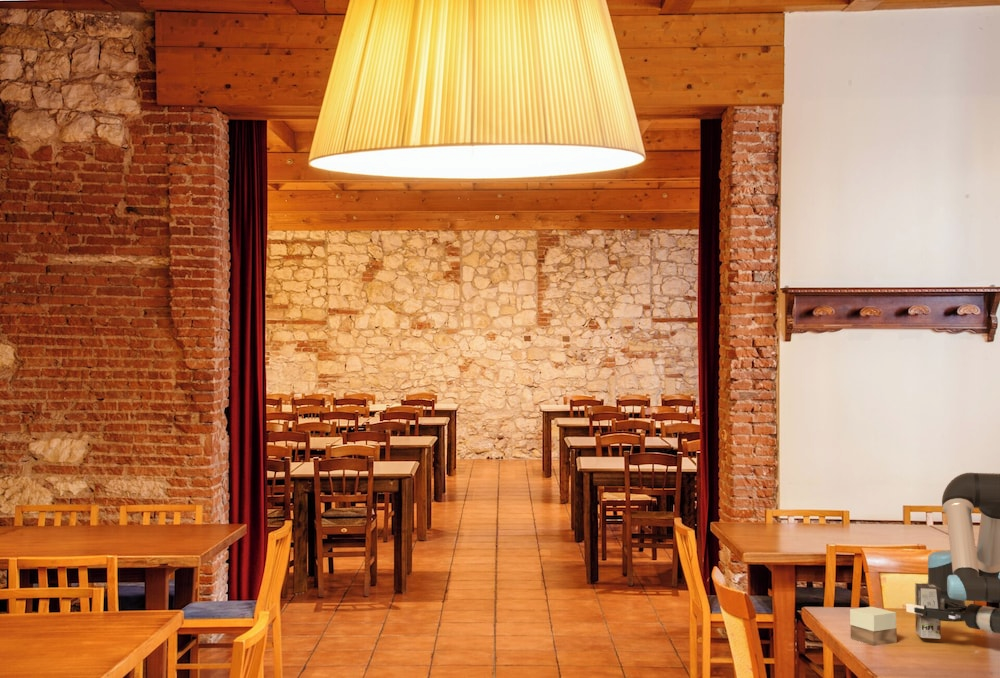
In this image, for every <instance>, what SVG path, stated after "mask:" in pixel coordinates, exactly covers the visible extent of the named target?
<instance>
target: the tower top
mask: <svg viewBox="0 0 1000 678" xmlns="http://www.w3.org/2000/svg"><path fill="white" fill-rule="evenodd" d="M849 625H850V626H851V625H853V626H856V627H860V628H864V629H867V630H871V631H880V630H887V629H894V628H897V612H895V611H891V610H887V609H883V608H880V607H875V606H866V607H859V608H851V609H849Z"/></svg>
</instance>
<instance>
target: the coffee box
mask: <svg viewBox="0 0 1000 678" xmlns="http://www.w3.org/2000/svg"><path fill="white" fill-rule="evenodd" d="M914 589H915V590H914V595H915V597H914V600H915V602H914V603H915V604H914V605H920V606H924V605H926V608H935V609H941V589H940V588H939V587H938V586H936V585H935V584H928V583H923V582H922V583H917V582H916V583H914ZM941 622H942V620H941V619H934V618H925V617H923V615H920V614H915V632H916V634H918V636H919V637H920V638H922V639H939V640H940V639H941V630H942V629H941Z"/></svg>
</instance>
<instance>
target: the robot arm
mask: <svg viewBox="0 0 1000 678" xmlns="http://www.w3.org/2000/svg"><path fill="white" fill-rule="evenodd" d="M941 506H942V507H941V508H942V512H943V513H944V514H945V515H946V522H947V530H948V541H949V550H947V549H946V550H940V551H934V552H931V553H930V554H929V555H928V558H927V567H926V568H927V584H935V585H936V586H938V587H939V588H940V589H941V609H935V608H926V605H924V606H920V605H915V604H914V603H907V602H906V606H905V607H906V613H911V614H915V615H916V614H920V615H923V617H925V618H934V619H941V621H948V622H949V621H950V622H953V623H955V622H963V621H964V623H965V626H966V627H968V628H969V629H974V630H981V631H985V632H988V633H989V634H992V635H993V633H995V634H1000V473H995V472H993V473H991V472H990V473H989V472H988V473H986V472H985V473H984V472H965V473H961V474H959V475H957V476H956V477H954V478H953V479H952V480H950V481H949V483H948V484H947V486H946V487H945V489H944V491H943V494H942V498H941ZM975 509H978V510H979V512H980V513H981V514H980V520H979V530H978V536H977V537H978V538H977V543H976V541H975V540H976V539H975V533H974V531H975V530H974V525H973V524H974V523H973V516H972V513H973V512H974V510H975ZM966 601H967V602H969V601H970V602H986V603H997V604H998V608H997V607H992V606H986V605H981V604H975V603H969V604H968V605H966Z"/></svg>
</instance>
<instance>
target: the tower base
mask: <svg viewBox="0 0 1000 678" xmlns="http://www.w3.org/2000/svg"><path fill="white" fill-rule="evenodd" d="M897 632H898V631H897V627H896V628H894V629H887V630H880V631H871V630H867V629H864V628H860V627H856V626H853V625H850V639H851V640H853V641H856V642H859V641H860V643H862V642H863V643H862V644H865V643H866V644H867V645H869V646H872V647H875V646H883V645H889V644H890V645H891V644H897V639H898V637H897Z"/></svg>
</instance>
